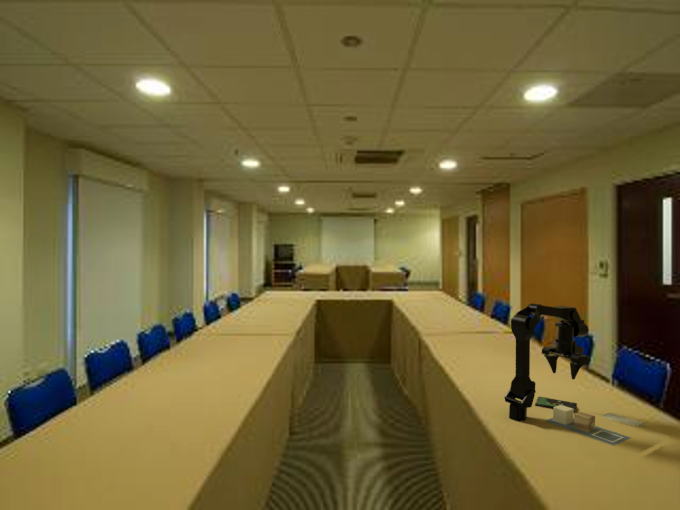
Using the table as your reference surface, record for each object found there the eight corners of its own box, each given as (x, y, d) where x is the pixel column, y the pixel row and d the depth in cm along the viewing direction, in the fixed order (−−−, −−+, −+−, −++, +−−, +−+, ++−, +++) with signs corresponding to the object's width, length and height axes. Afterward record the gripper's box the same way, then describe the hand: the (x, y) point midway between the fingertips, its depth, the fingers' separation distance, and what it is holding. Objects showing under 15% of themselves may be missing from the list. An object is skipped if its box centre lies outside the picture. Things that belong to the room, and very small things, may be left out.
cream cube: (565, 424, 175) (566, 411, 174) (552, 420, 179) (553, 407, 178) (573, 422, 177) (573, 408, 177) (560, 417, 182) (560, 404, 181)
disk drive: (576, 409, 196) (537, 402, 203) (577, 402, 196) (538, 395, 203) (575, 417, 187) (534, 409, 194) (575, 410, 187) (535, 402, 194)
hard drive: (600, 416, 184) (635, 426, 174) (610, 412, 189) (644, 422, 179) (600, 420, 184) (635, 431, 174) (609, 416, 189) (644, 426, 179)
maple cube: (587, 432, 168) (588, 418, 168) (573, 427, 172) (574, 413, 172) (594, 429, 171) (595, 415, 171) (581, 424, 175) (581, 411, 175)
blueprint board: (613, 448, 157) (614, 445, 157) (543, 423, 178) (543, 420, 178) (630, 440, 164) (630, 437, 164) (561, 417, 185) (561, 414, 185)
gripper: (600, 341, 186) (598, 381, 187) (561, 332, 203) (559, 368, 204) (580, 342, 182) (577, 383, 182) (541, 333, 199) (539, 370, 199)
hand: (563, 376), depth 192 cm, fingers open, 9 cm apart
